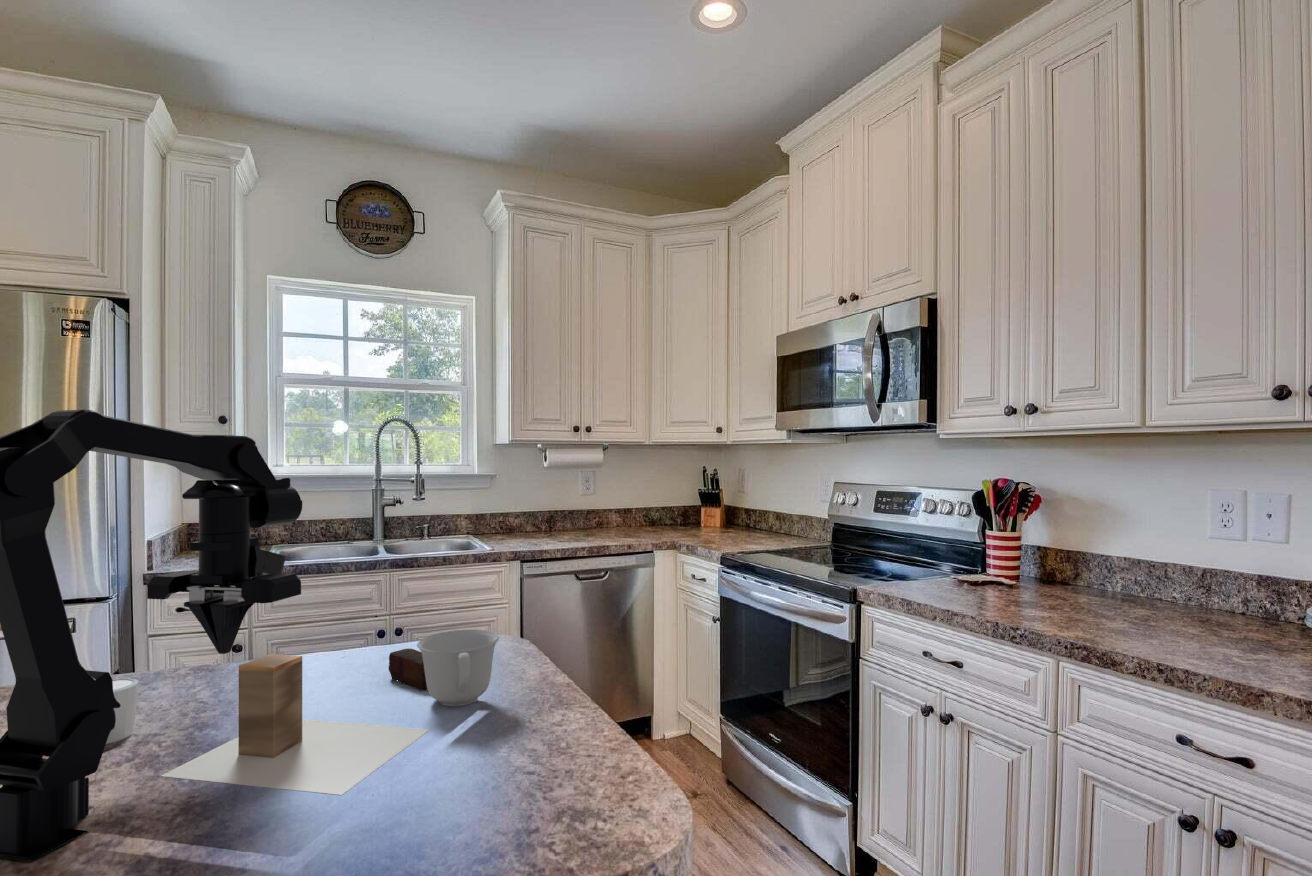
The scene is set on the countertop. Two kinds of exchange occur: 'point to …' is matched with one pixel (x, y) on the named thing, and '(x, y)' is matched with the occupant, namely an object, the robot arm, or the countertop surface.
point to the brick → (408, 668)
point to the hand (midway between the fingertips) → (224, 653)
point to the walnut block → (270, 705)
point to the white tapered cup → (124, 708)
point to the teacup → (458, 664)
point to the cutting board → (306, 758)
